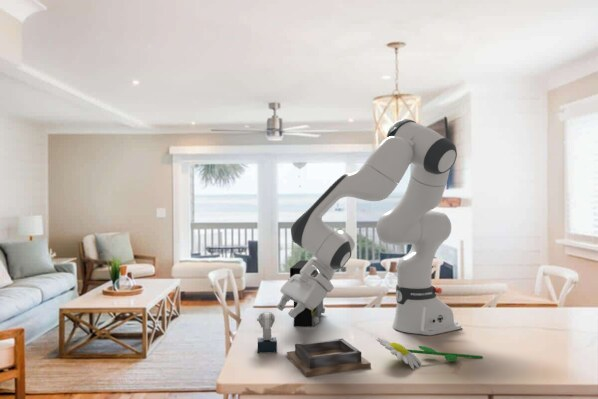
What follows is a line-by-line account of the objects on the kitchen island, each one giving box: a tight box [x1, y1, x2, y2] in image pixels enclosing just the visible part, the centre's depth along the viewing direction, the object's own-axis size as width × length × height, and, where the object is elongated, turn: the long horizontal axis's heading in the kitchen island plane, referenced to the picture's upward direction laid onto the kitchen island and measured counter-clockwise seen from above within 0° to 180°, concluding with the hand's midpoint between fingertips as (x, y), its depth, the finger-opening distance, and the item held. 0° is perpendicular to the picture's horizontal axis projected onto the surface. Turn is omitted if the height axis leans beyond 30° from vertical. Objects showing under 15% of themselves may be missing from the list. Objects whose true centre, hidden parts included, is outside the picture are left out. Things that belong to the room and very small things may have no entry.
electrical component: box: [287, 259, 326, 328], centre depth 174 cm, size 18×10×20 cm, turn 168°
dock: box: [286, 338, 372, 378], centre depth 132 cm, size 18×16×4 cm
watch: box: [256, 311, 278, 354], centre depth 142 cm, size 6×8×11 cm
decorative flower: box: [376, 337, 484, 370], centre depth 132 cm, size 13×5×30 cm
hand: (284, 312), depth 143 cm, fingers open, 8 cm apart
